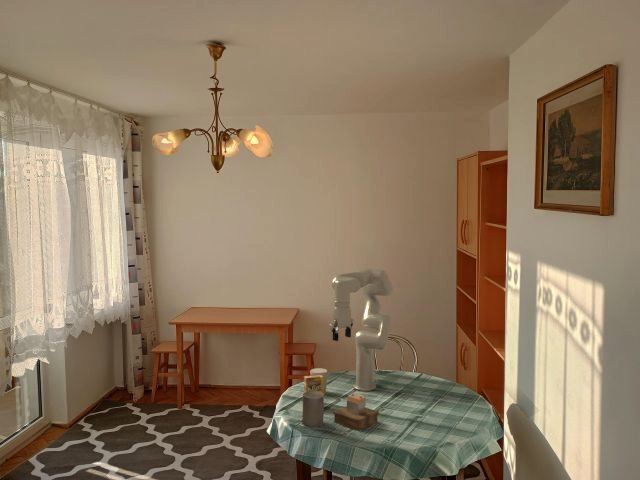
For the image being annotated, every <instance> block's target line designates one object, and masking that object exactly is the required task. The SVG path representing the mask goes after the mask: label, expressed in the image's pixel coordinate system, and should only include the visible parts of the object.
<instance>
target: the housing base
mask: <svg viewBox="0 0 640 480" xmlns="http://www.w3.org/2000/svg"><path fill="white" fill-rule="evenodd" d="M366 402H367V401H366V400H365V402H363V403H361V404H358V403H355V402H352V401H348V399H347V400H346V406H347V411H348V412H351V413H354V414H357V415H360V414H362V413H364V412H365V407H366Z"/></svg>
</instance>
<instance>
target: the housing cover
mask: <svg viewBox="0 0 640 480" xmlns="http://www.w3.org/2000/svg"><path fill="white" fill-rule="evenodd" d="M347 400H348V401H352V402H355V403H358V404H361V403H363V402H365V401H366V396H362V395H359V394H355V393H352V394H350V395H347Z"/></svg>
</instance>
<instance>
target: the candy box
mask: <svg viewBox="0 0 640 480" xmlns="http://www.w3.org/2000/svg"><path fill="white" fill-rule="evenodd" d="M308 391H318V392H321V393H323V376H322V375H311V376H310V375H303V393H305V392H308Z"/></svg>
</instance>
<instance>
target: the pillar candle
mask: <svg viewBox="0 0 640 480" xmlns="http://www.w3.org/2000/svg"><path fill="white" fill-rule="evenodd" d="M324 401H325V394H323V393H321V392H318V391H308V392H305V393H304V392H303V393H302V415H301V417H302V419H301V420H302V421H301V423H302V425H303V426H304V427H307V428H319V427H321V426H323V425H324V414H325V413H324V409H325V406H324V405H325V402H324Z"/></svg>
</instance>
